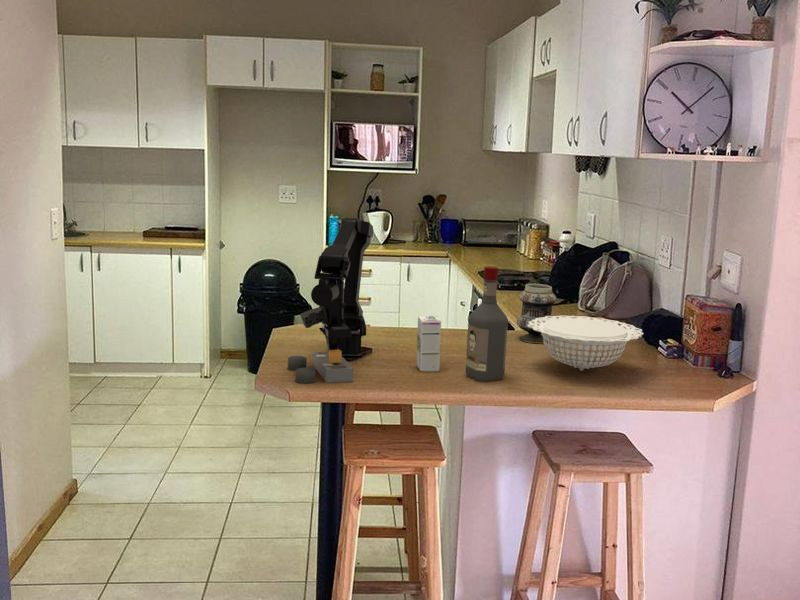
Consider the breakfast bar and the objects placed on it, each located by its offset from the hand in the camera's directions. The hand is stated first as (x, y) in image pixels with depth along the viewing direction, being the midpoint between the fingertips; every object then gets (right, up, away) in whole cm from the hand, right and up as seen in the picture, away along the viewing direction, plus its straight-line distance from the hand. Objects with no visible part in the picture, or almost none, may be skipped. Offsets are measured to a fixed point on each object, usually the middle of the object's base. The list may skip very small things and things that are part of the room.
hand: (331, 355), depth 223 cm
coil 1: (-10, -4, +2) cm, 10 cm away
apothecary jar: (+62, +2, +46) cm, 77 cm away
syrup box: (+26, -4, +7) cm, 27 cm away
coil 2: (-6, -6, -9) cm, 13 cm away
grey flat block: (0, -5, -1) cm, 5 cm away
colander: (+70, -5, +11) cm, 71 cm away
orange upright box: (+1, -1, -4) cm, 5 cm away
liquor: (+41, -6, +1) cm, 42 cm away
